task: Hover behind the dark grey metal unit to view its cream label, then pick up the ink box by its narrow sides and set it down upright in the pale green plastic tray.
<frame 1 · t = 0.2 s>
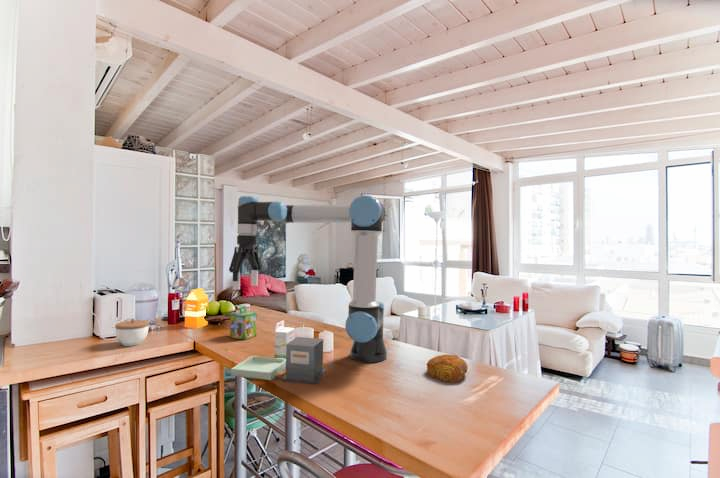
hand: (245, 287, 145), 28 cm above the worktop, fingers open, 13 cm apart
floral tea caddy: (243, 337, 173), on the worktop
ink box: (284, 359, 143), on the worktop
lidded bowl: (132, 344, 158), on the worktop
unit: (304, 375, 125), on the worktop
tray: (260, 370, 130), on the worktop
orange juice: (196, 326, 193), on the worktop
brown rounded lump: (446, 375, 130), on the worktop
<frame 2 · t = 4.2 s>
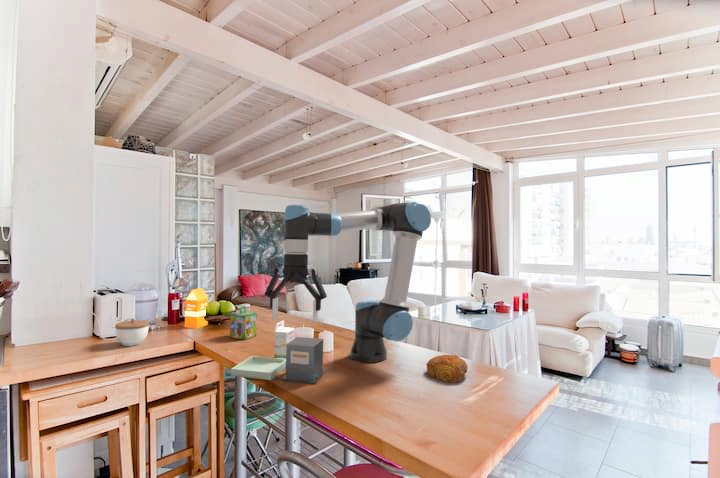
hand: (294, 319, 115), 22 cm above the worktop, fingers open, 13 cm apart
nothing on the worktop moved.
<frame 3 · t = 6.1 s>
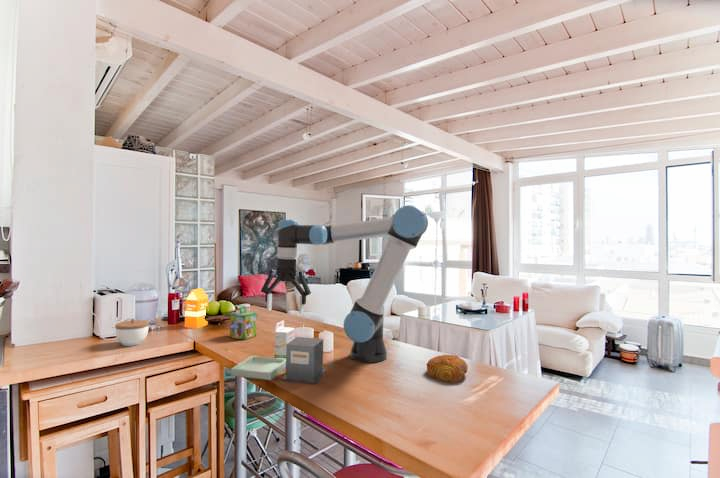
hand: (285, 311, 143), 19 cm above the worktop, fingers open, 13 cm apart
nothing on the worktop moved.
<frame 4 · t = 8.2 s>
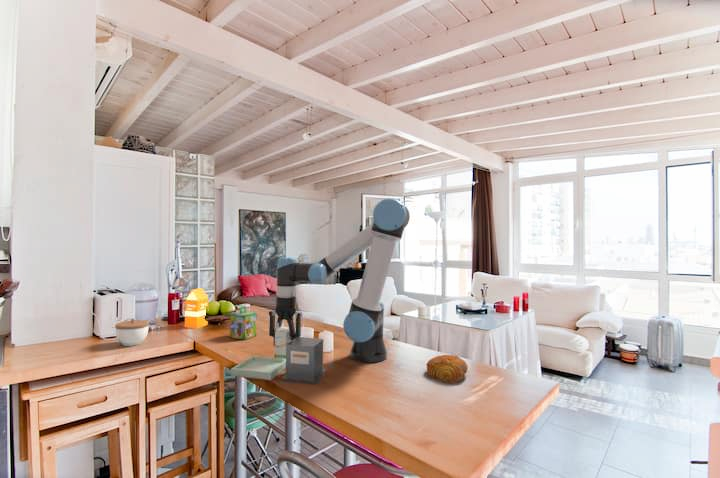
hand: (284, 354, 143), 2 cm above the worktop, fingers closed on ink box, 5 cm apart
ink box: (284, 359, 143), on the worktop, touching gripper
everything else where it was.
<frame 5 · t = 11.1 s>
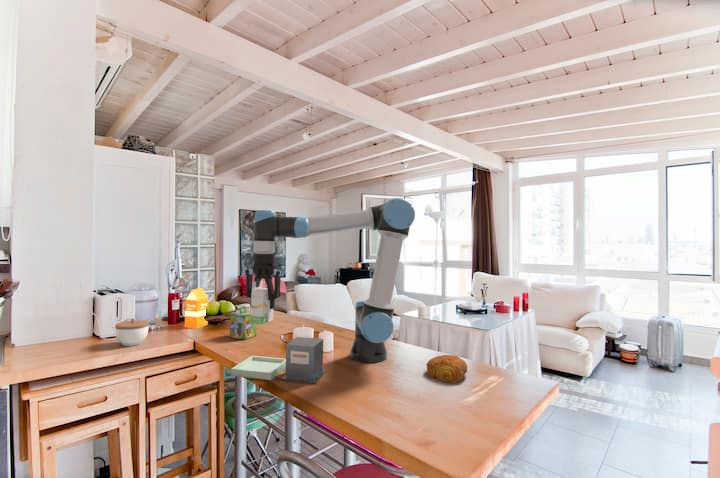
hand: (262, 317, 130), 19 cm above the worktop, fingers closed on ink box, 5 cm apart
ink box: (262, 322, 130), point 17 cm above the worktop, touching gripper
everything else where it was.
when the fingers open (4 cm above the worktop, at t = 13.9 s): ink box drops 1 cm, resting on tray.
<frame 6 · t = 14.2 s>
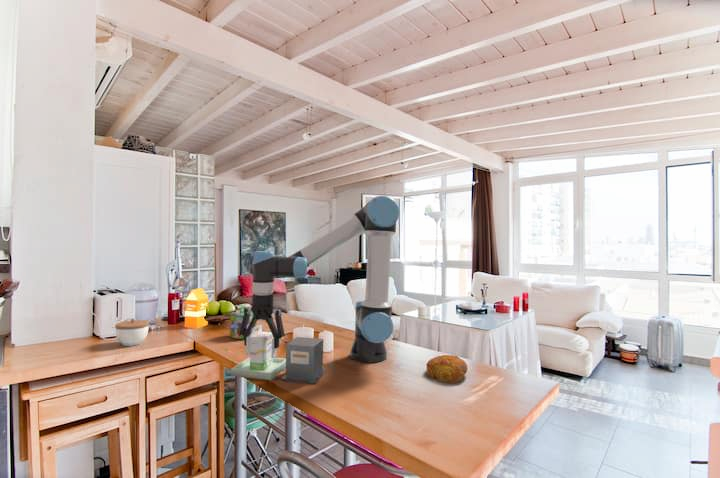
hand: (261, 355, 130), 5 cm above the worktop, fingers open, 9 cm apart
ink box: (261, 367, 130), point 1 cm above the worktop, touching tray
everything else where it was.
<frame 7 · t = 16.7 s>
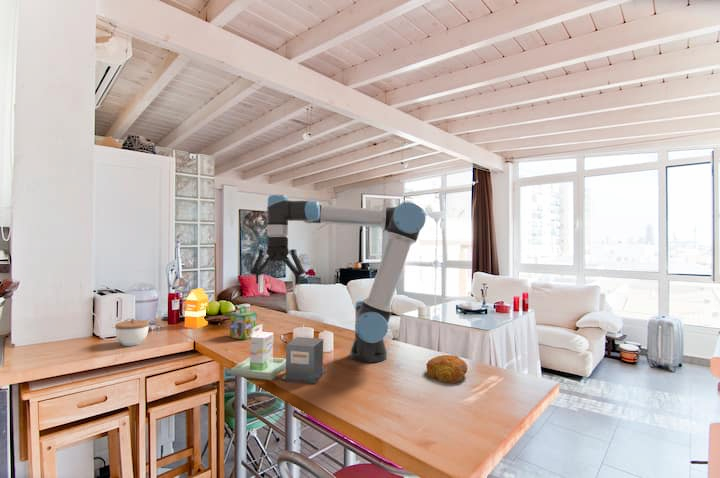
hand: (277, 293, 135), 27 cm above the worktop, fingers open, 13 cm apart
nothing on the worktop moved.
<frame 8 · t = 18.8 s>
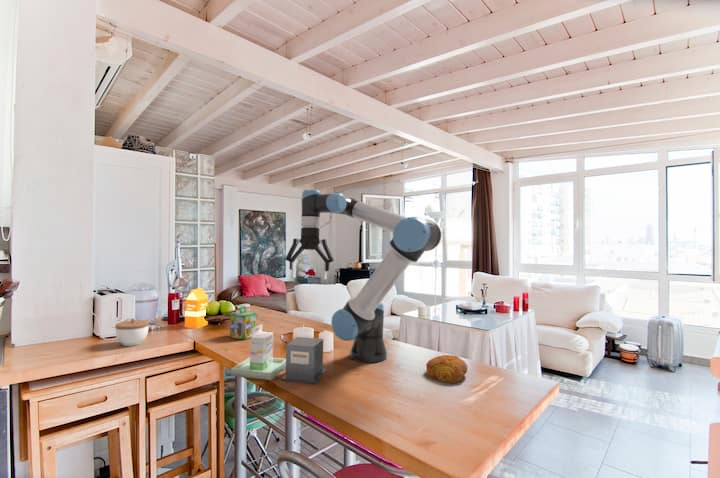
hand: (308, 278, 148), 32 cm above the worktop, fingers open, 13 cm apart
nothing on the worktop moved.
at the end: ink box 0.3 cm from the tray (horizontally); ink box tilted 0°; the gripper is holding nothing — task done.
